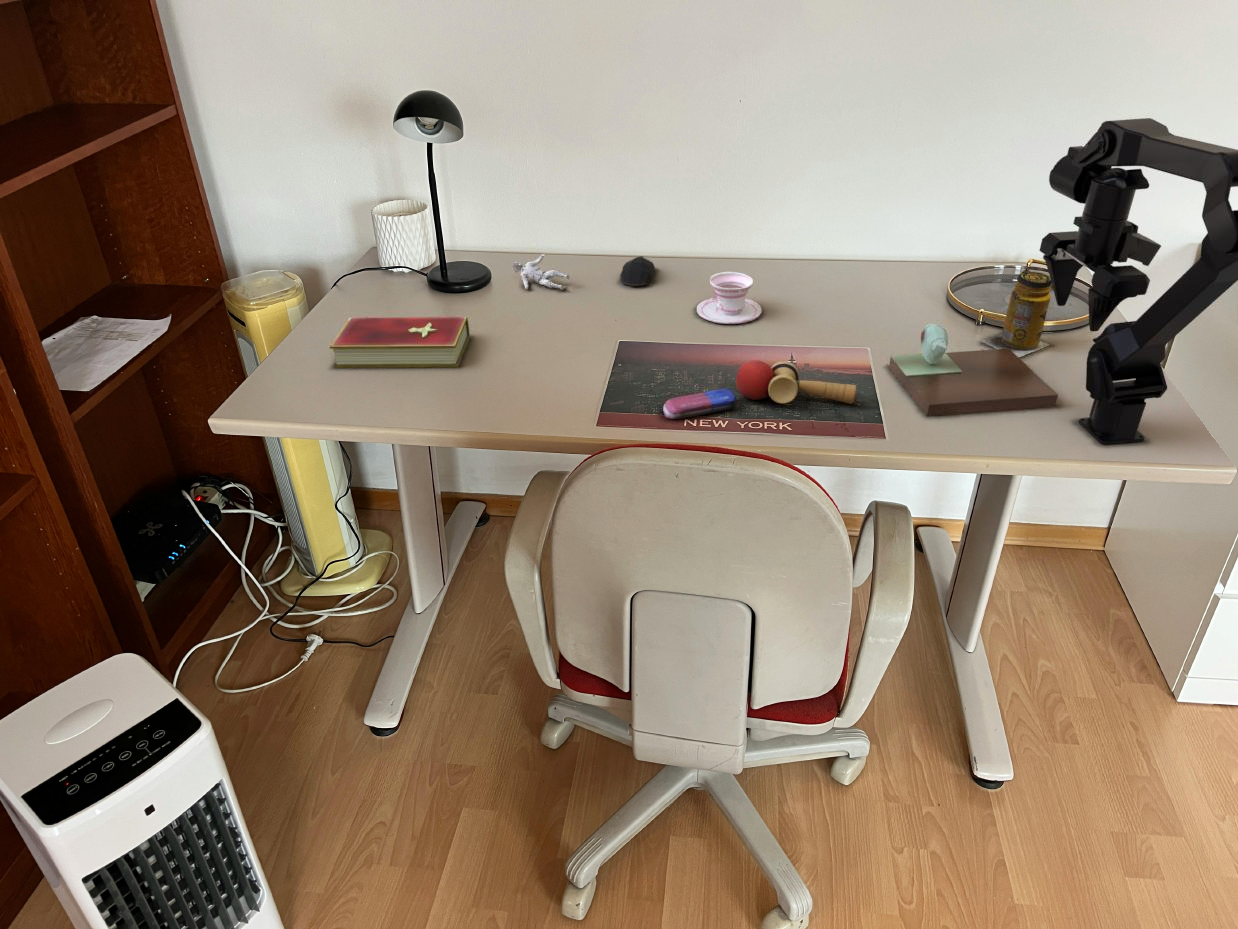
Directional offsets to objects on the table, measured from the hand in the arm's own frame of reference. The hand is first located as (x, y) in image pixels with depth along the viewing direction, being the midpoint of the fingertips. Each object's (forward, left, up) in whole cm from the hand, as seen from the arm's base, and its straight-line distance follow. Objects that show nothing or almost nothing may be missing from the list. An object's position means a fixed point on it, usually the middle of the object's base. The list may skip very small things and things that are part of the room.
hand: (1076, 317), depth 135 cm
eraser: (+2, +56, -12) cm, 57 cm away
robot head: (+7, +18, -10) cm, 22 cm away
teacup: (+37, +44, -12) cm, 59 cm away
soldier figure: (+56, +78, -12) cm, 97 cm away
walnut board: (+3, +13, -12) cm, 18 cm away
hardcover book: (+29, +103, -12) cm, 108 cm away
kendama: (+3, +41, -12) cm, 43 cm away
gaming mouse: (+58, +58, -12) cm, 83 cm away
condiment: (+16, -1, -12) cm, 20 cm away
